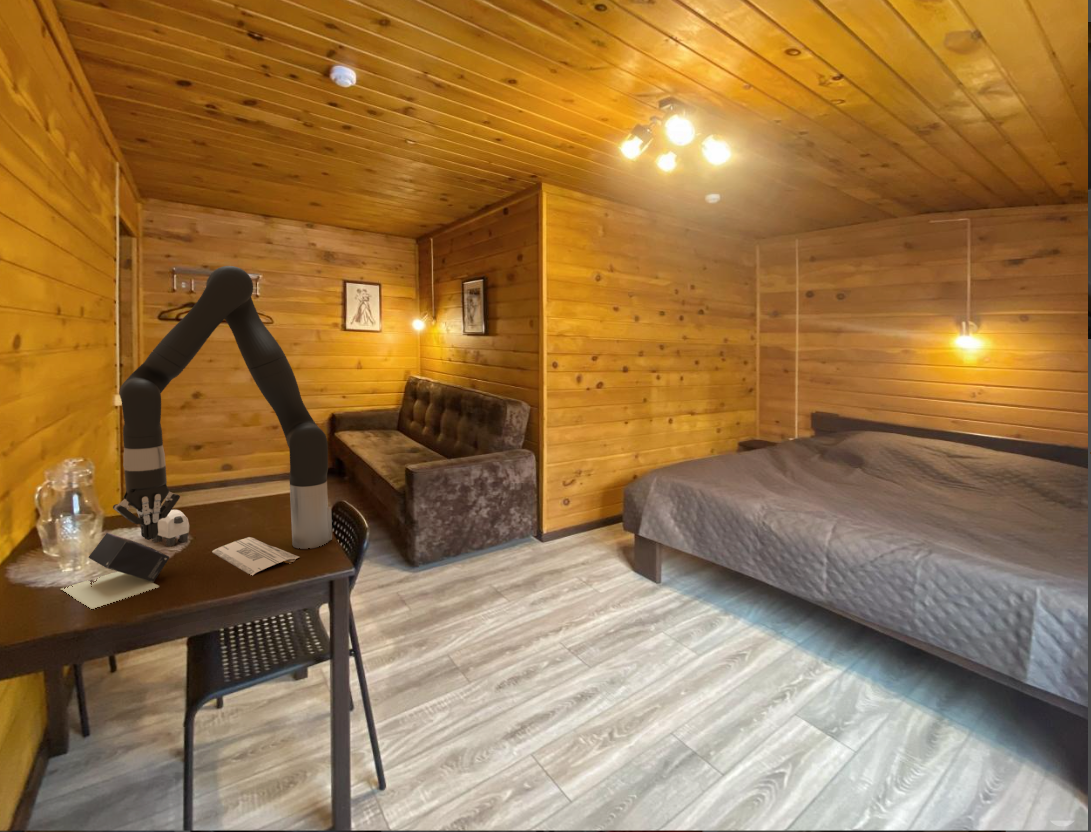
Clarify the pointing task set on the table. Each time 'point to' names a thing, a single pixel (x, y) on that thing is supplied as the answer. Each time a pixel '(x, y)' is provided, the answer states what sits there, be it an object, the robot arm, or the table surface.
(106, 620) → the table surface
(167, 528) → the giant panda
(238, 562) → the newspaper
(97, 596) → the blank cream paper sheet
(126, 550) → the small box
